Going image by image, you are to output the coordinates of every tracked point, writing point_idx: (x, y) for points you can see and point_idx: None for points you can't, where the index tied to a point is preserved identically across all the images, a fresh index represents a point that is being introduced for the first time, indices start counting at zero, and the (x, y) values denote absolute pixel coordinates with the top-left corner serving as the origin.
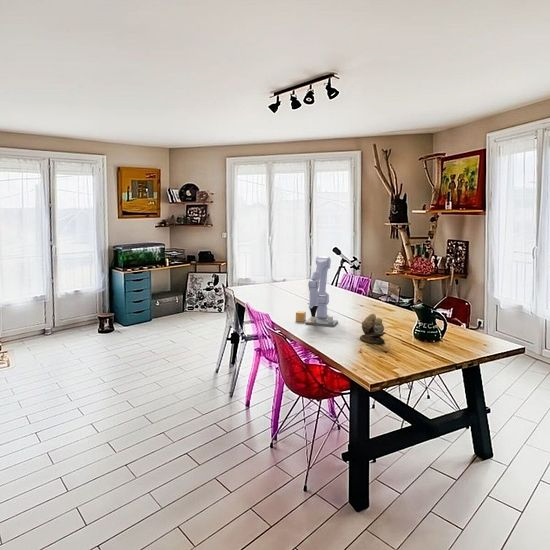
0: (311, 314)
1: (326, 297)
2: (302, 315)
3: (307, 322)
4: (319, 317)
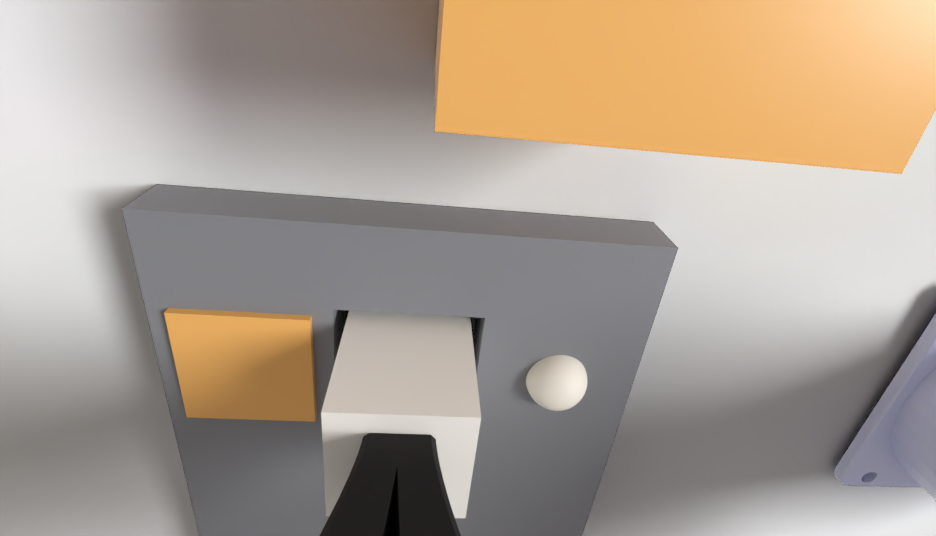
0: (345, 494)
1: None
2: (438, 46)
3: (138, 271)
4: (892, 381)
